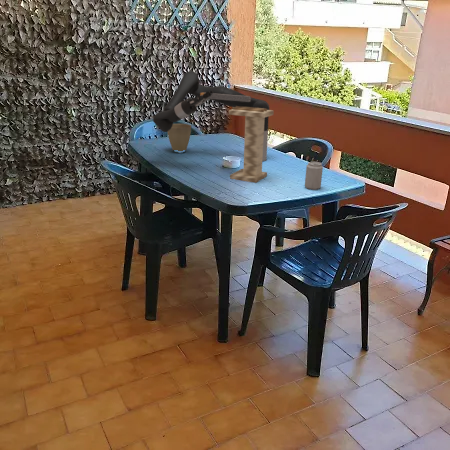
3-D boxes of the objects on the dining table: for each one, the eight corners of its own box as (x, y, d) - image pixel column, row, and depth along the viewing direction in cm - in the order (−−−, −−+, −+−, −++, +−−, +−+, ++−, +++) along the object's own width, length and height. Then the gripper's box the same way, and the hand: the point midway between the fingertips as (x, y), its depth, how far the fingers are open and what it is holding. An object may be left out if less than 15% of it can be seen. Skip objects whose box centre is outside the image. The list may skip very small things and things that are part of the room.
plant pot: (163, 150, 281) (162, 124, 276) (185, 148, 288) (185, 123, 282) (172, 155, 269) (171, 128, 263) (195, 153, 276) (195, 126, 270)
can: (308, 190, 210) (311, 165, 205) (301, 186, 216) (304, 161, 212) (323, 189, 212) (326, 164, 207) (316, 185, 218) (318, 160, 214)
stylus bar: (200, 97, 225) (200, 92, 224) (202, 97, 227) (202, 92, 226) (248, 102, 214) (248, 96, 213) (250, 101, 216) (250, 96, 215)
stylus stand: (226, 178, 226) (228, 108, 214) (238, 171, 238) (240, 105, 225) (259, 183, 219) (263, 111, 206) (270, 176, 230) (274, 108, 218)
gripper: (174, 102, 226) (201, 86, 216) (189, 100, 237) (215, 84, 228) (181, 116, 227) (208, 101, 217) (195, 113, 238) (221, 98, 229)
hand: (211, 92), depth 223 cm, fingers closed on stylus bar, 2 cm apart
